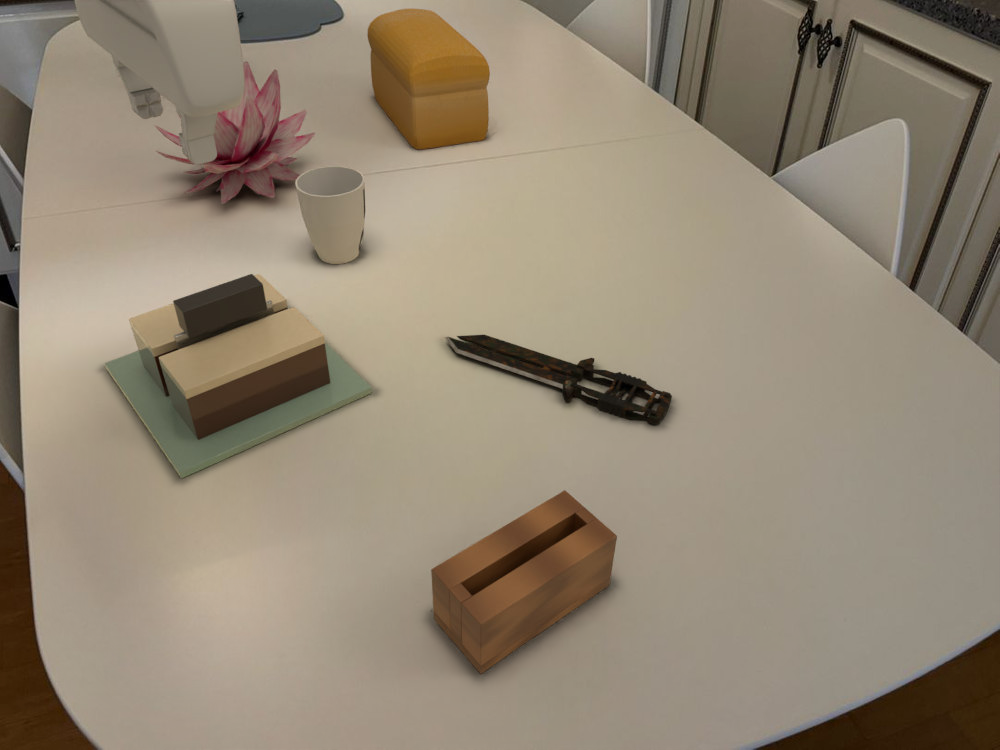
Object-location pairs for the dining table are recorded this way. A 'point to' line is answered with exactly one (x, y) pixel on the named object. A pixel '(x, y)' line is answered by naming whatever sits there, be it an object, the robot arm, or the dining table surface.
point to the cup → (333, 211)
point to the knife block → (522, 579)
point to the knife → (568, 377)
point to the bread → (428, 79)
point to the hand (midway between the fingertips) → (173, 136)
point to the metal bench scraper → (220, 309)
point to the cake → (231, 382)
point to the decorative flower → (251, 142)
